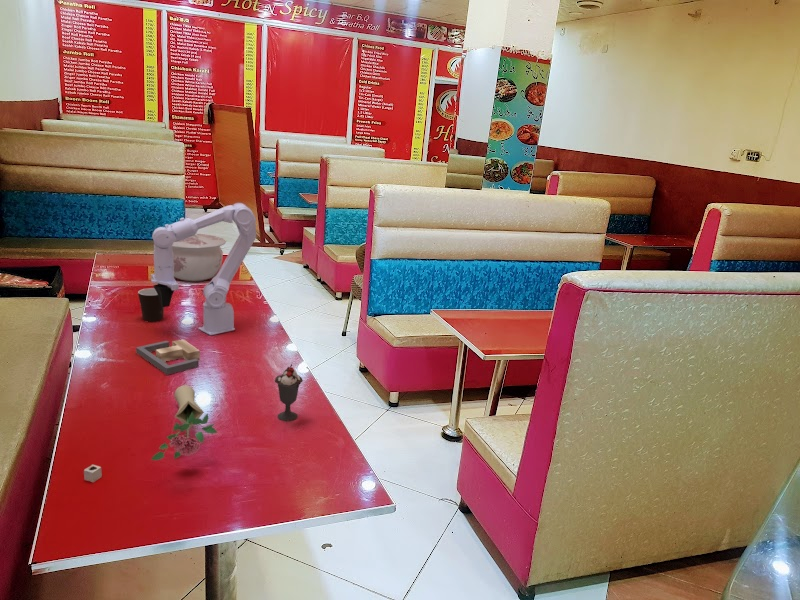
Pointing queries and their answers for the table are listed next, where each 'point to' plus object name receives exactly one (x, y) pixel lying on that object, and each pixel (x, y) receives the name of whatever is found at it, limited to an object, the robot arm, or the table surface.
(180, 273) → the chamber pot
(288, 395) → the sundae
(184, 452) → the flower vase
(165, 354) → the T block
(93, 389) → the table surface
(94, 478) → the beige hollow cube
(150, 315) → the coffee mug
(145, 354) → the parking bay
